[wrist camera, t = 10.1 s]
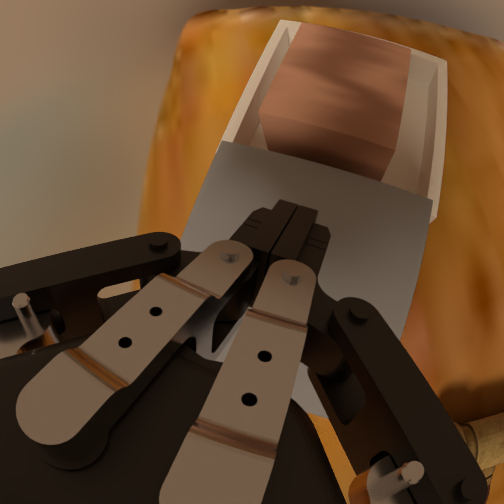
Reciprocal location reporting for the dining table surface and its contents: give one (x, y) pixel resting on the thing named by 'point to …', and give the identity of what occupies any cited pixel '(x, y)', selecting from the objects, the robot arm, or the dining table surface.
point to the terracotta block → (337, 100)
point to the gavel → (485, 442)
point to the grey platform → (330, 215)
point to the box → (411, 128)
